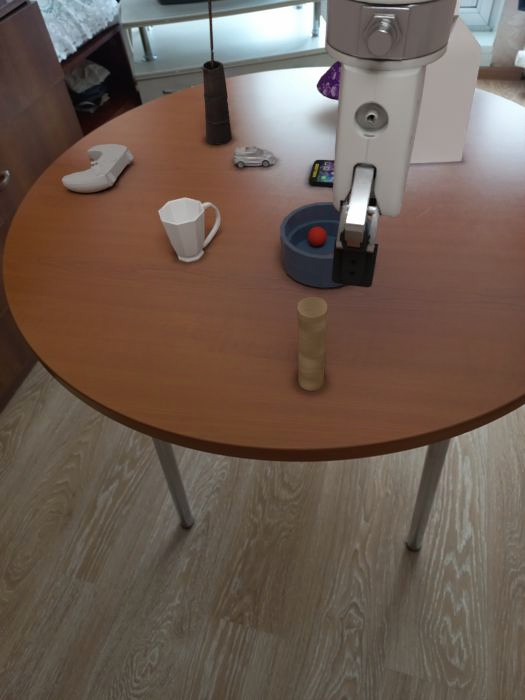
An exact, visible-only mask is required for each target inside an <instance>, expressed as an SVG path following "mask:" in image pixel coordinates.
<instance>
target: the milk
mask: <svg viewBox="0 0 525 700" xmlns="http://www.w3.org/2000/svg"><path fill="white" fill-rule="evenodd" d="M461 1H462V0H457V3H456V7H455V12H454V17H453V22H452V27H451V31H450V36H449V40H448V45H447V50H446V52H445V54H444V56H442V57H441V58H440V59H439V60H437V61H435V62H433V63H431V64H428V65H426V74H425V82H424V89H423V95H422V101H421V107H420V112H419V118H418V124H417V129H416V134H415V139H414V144H413V150H412V155H411V160H410V165H411V164H432V163H451V162H452V163H454V162H462V160H463V153H464V148H465V144H466V138H467V133H468V128H469V122H470V118H471V111H472V107H473V101H474V97H475V91H476V86H477V82H478V76H479V72H480V71H479V70H480V66H481V59H482V46H481V44H480V43H479V41H478V40H477V38H476V37H475V35H474V34H473V32H472V31H471V30H470V28H469V27H468V24H466V22H465V21H464V20H463V18H462V17H461V15H460V10H461V9H460V8H461Z"/></svg>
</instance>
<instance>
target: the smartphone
mask: <svg viewBox="0 0 525 700" xmlns="http://www.w3.org/2000/svg"><path fill="white" fill-rule="evenodd" d="M333 180H334V159H316V160H314V161H313V164H312V167H311V170H310V174H309V177H308V184H310V185H311V186H318V187H319V186H320V187H332V188H333Z"/></svg>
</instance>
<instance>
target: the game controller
mask: <svg viewBox="0 0 525 700" xmlns="http://www.w3.org/2000/svg"><path fill="white" fill-rule="evenodd" d="M86 153H87V155H88V157H90V159H92V161H91V162H90V168H88V169H86V170H83V171H77V172H73V173H69V174H67V175H63V177H62V179H61V182H62V185H63V186H64V187H65V188H66V189H67V190H70V191H73V192H76V193H84V194H85V193H87V194H89V193H96V192H97V193H98V192H100V191H104V190H106V189H108V188H110V187H112V186H113V185H114V184H115V182H116V181H117V179H118V177H119V176H120V175H121V174H122V172H123V170H124V169H125V168H126V167H127V165H130V164H131V162H132V161H133V160H134V159H135V156H134V155H133V154H132V153H131V151H130V150H129V148H128V147H127V146H126V145H123V144H120V143H119V144H117V143H105V144H104V143H103V144H97V145H94V146H92V147H90V148H89V149H88V150H87V151H86Z"/></svg>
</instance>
